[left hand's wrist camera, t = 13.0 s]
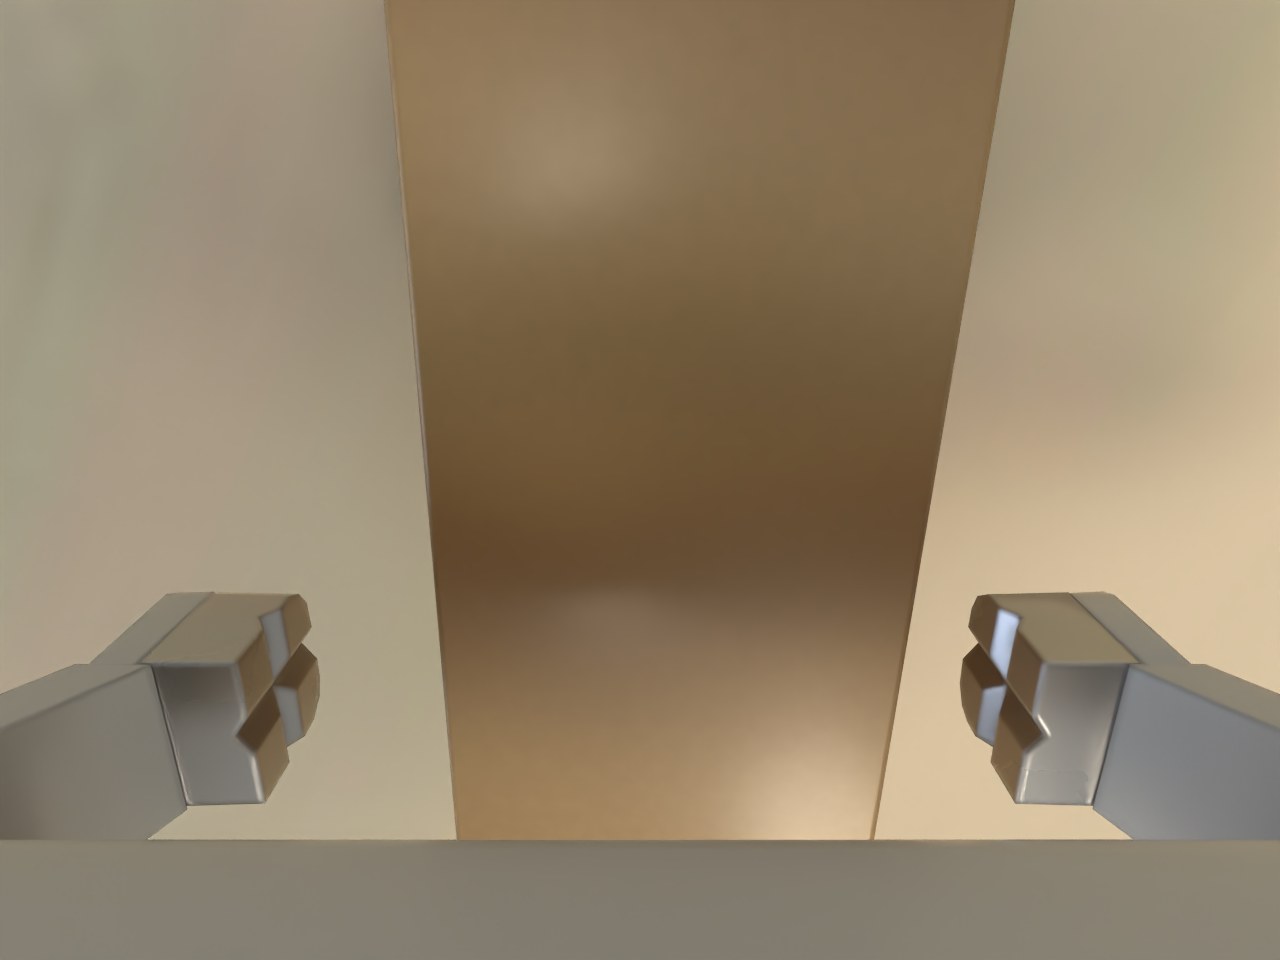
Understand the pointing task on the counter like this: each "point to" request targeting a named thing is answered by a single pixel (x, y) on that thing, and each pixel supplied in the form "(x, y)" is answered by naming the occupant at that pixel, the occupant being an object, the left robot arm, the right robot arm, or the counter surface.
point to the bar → (683, 391)
